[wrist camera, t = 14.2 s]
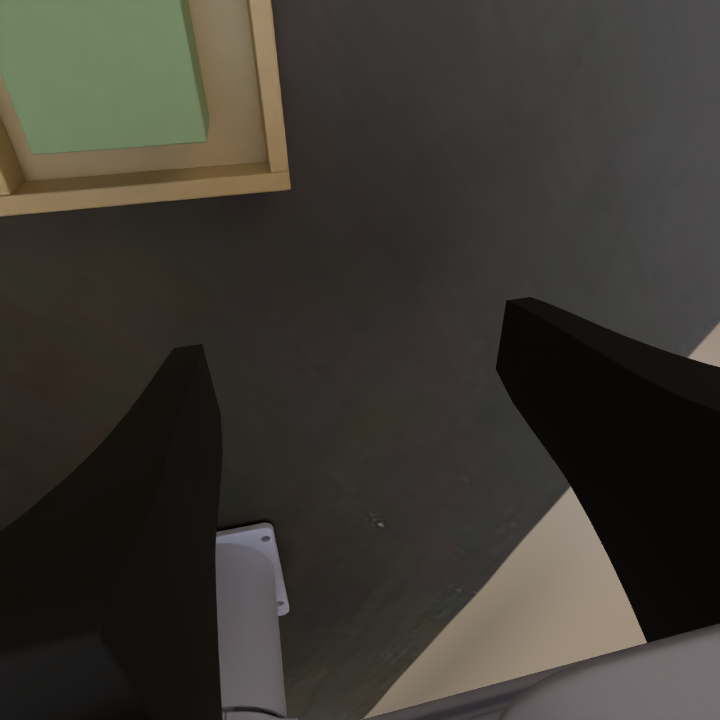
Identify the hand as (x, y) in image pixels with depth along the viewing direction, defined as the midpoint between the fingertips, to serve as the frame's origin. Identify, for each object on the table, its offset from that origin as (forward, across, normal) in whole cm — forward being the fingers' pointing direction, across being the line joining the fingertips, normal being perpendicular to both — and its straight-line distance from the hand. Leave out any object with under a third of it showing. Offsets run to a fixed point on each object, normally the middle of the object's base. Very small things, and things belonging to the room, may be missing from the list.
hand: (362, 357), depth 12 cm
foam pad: (+9, +5, -7) cm, 12 cm away
